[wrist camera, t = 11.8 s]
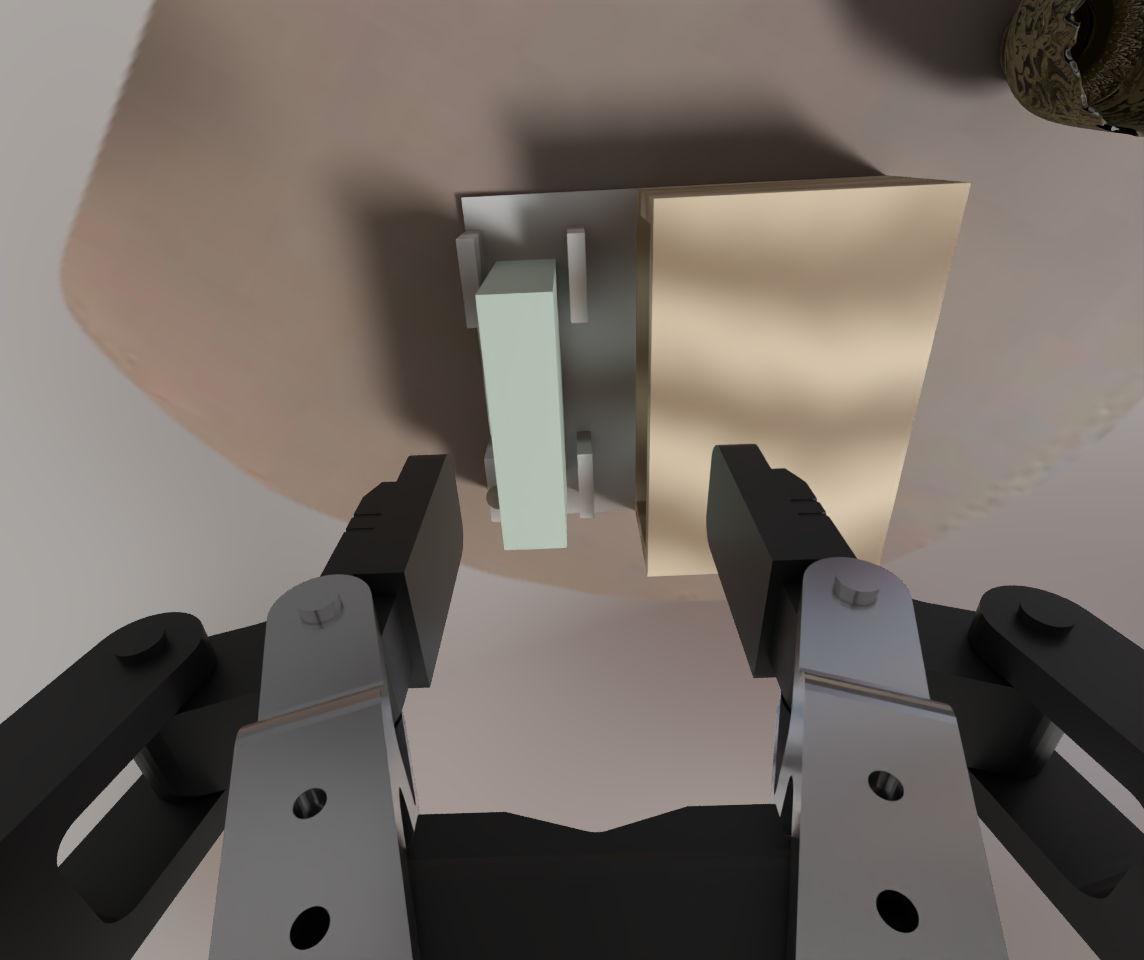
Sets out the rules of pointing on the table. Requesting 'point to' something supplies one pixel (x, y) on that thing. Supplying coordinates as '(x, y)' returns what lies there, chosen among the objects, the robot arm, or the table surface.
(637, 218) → the cabinet
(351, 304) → the table surface
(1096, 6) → the cup
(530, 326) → the door
